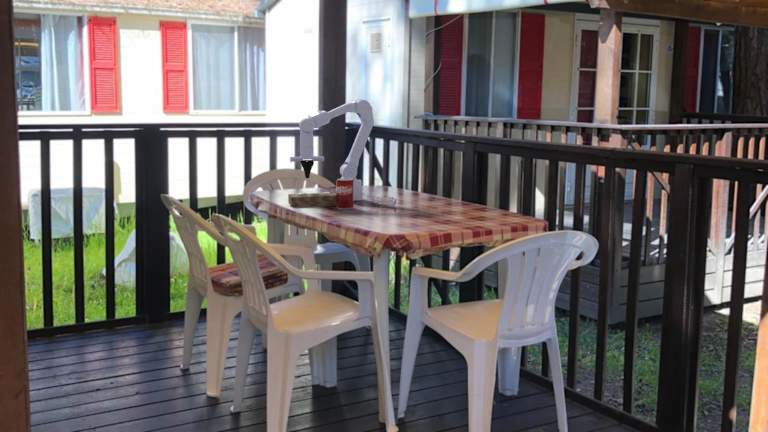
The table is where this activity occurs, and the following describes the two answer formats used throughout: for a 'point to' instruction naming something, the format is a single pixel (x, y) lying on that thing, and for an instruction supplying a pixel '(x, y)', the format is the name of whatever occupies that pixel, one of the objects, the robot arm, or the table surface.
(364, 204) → the table surface
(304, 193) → the sage button
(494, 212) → the table surface
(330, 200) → the button panel
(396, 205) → the table surface
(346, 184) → the soda can
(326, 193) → the cream button
